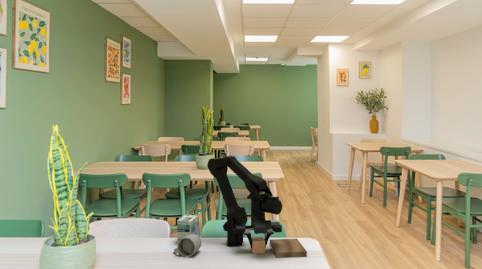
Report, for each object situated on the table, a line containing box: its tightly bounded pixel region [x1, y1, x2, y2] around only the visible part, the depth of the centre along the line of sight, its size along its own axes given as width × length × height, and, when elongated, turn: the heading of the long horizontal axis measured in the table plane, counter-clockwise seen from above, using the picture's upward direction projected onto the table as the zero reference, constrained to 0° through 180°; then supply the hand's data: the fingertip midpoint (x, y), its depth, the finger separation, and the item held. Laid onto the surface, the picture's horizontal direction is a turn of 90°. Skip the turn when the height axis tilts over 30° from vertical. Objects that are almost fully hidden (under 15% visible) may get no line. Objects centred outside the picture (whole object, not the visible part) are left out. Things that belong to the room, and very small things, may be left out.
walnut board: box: [269, 238, 308, 259], centre depth 150 cm, size 12×16×2 cm
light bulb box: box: [176, 214, 200, 244], centre depth 161 cm, size 11×7×11 cm, turn 168°
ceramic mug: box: [173, 234, 202, 258], centre depth 147 cm, size 11×8×8 cm
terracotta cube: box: [251, 236, 266, 254], centre depth 149 cm, size 5×5×5 cm
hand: (258, 248), depth 149 cm, fingers closed on terracotta cube, 5 cm apart
